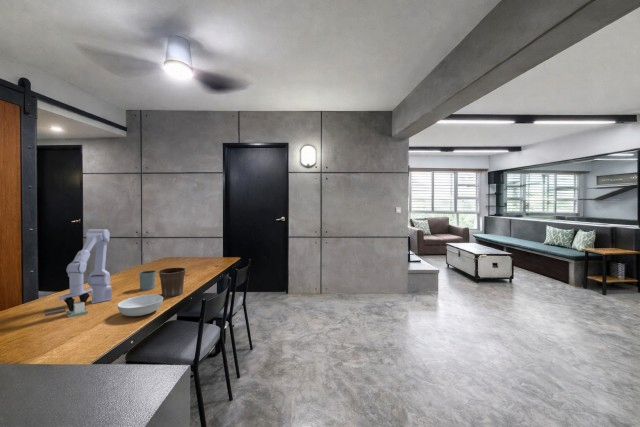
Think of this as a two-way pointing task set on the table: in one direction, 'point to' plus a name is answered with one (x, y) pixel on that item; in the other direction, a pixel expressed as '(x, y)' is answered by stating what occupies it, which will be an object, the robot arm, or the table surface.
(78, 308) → the grey cube
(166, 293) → the plant pot
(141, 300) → the serving bowl
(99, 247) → the robot arm
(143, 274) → the drinking glass
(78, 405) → the table surface
